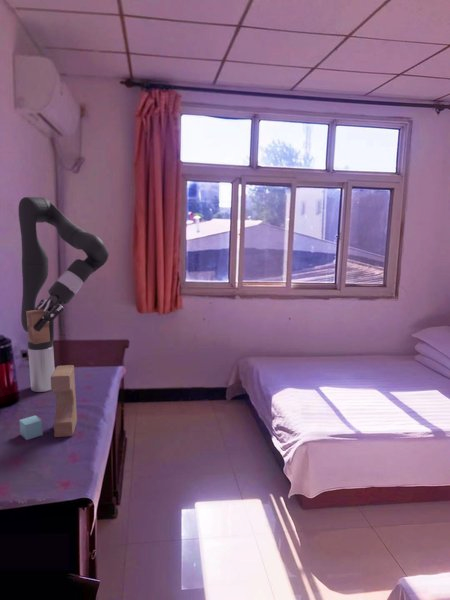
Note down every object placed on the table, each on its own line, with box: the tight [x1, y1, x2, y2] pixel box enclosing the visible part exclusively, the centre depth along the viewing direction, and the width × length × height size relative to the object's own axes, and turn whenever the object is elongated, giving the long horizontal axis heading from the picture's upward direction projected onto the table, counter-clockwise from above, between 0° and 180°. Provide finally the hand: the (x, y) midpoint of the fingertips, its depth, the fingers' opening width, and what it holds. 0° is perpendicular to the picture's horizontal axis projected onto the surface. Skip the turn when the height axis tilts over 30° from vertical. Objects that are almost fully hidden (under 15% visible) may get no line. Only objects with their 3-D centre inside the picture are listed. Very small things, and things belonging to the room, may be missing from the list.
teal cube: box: [18, 415, 44, 441], centre depth 140 cm, size 5×5×5 cm
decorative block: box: [50, 364, 78, 438], centre depth 142 cm, size 11×6×20 cm, turn 10°
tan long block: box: [26, 309, 50, 344], centre depth 143 cm, size 5×5×10 cm
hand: (32, 328), depth 142 cm, fingers closed on tan long block, 5 cm apart
